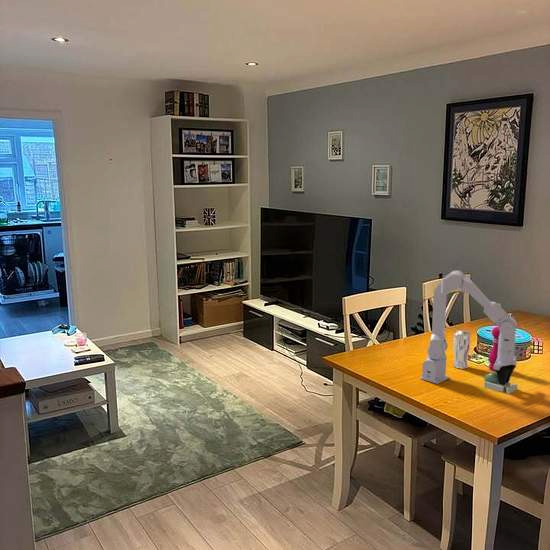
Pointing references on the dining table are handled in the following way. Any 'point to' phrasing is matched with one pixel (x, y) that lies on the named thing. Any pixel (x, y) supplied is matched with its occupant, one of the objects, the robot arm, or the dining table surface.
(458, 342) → the pale grey carved column
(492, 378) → the bottle
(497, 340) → the pepper mill
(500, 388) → the rest
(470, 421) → the dining table surface
